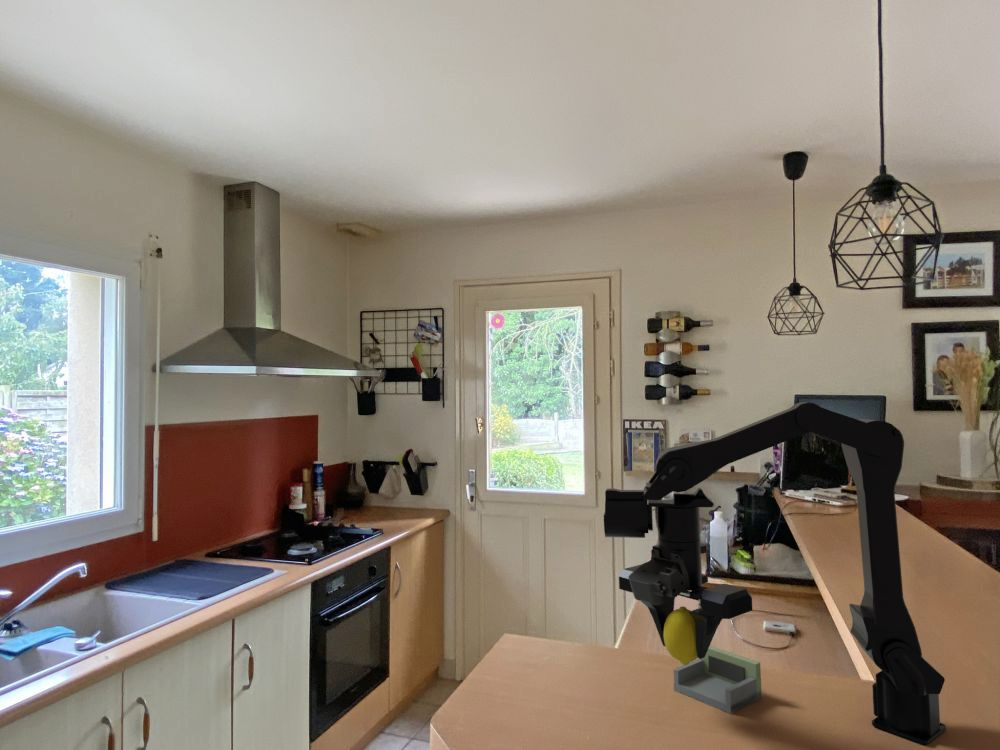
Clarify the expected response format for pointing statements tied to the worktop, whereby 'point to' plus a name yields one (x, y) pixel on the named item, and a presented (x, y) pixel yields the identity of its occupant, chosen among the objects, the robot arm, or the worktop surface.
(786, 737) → the worktop surface
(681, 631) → the lemon
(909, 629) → the robot arm
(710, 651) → the miniature couch
